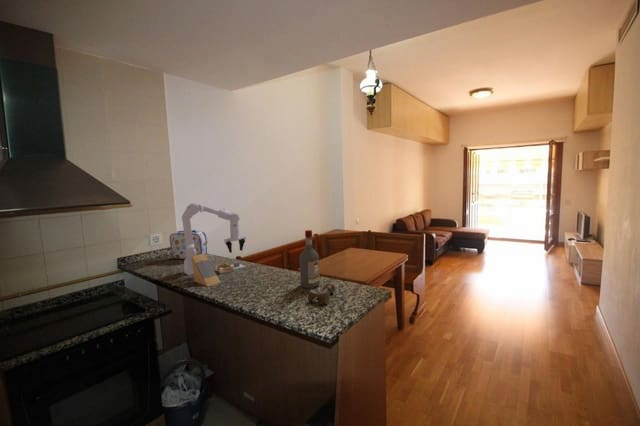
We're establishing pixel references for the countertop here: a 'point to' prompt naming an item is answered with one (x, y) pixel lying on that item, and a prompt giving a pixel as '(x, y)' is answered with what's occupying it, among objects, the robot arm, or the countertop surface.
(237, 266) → the lid
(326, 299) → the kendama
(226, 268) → the box
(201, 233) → the lunch box
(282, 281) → the countertop surface
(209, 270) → the sandwich container
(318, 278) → the liquor
